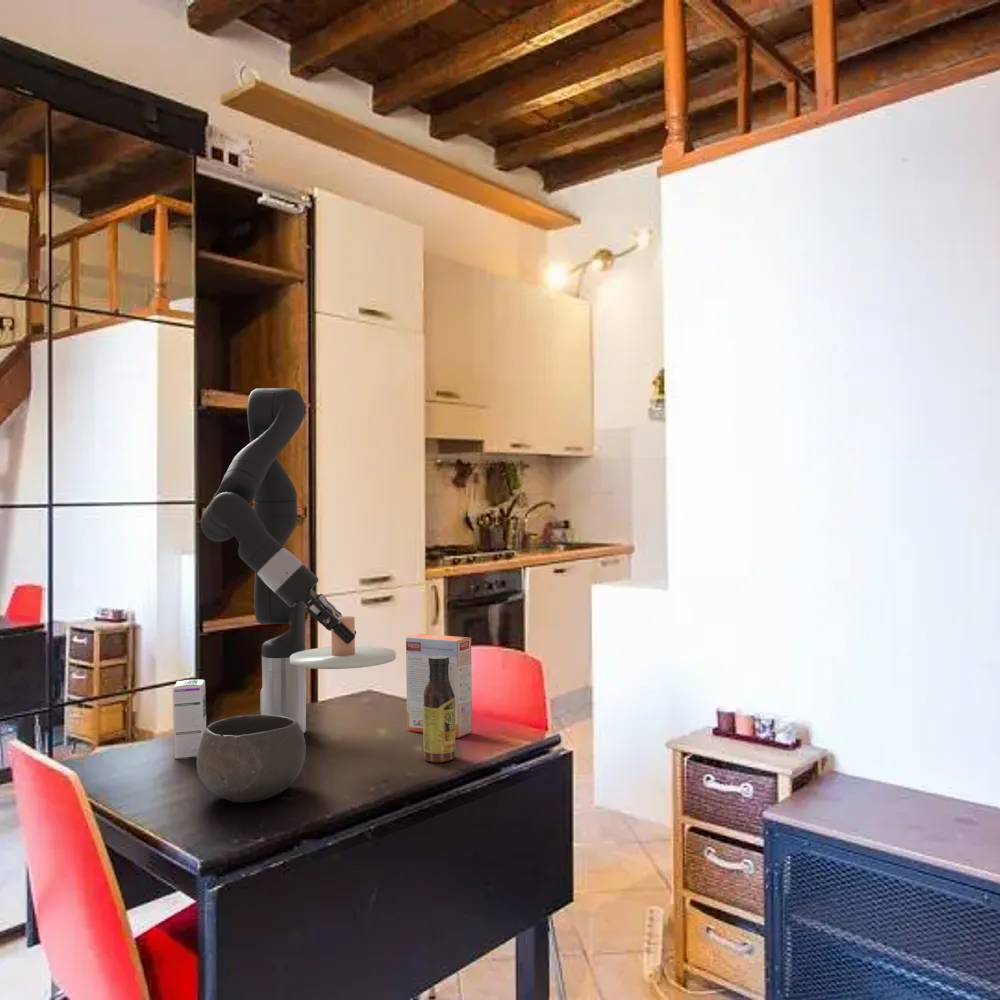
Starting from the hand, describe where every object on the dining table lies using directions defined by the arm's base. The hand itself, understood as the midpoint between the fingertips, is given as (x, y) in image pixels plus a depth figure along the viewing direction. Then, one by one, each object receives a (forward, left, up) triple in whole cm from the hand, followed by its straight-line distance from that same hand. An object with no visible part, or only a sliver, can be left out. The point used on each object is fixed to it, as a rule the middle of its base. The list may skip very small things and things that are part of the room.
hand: (352, 638), depth 161 cm
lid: (-1, -1, -4) cm, 4 cm away
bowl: (+1, -23, -24) cm, 33 cm away
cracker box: (-3, +27, -24) cm, 36 cm away
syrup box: (-31, -16, -24) cm, 43 cm away
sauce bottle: (+11, +13, -24) cm, 29 cm away
